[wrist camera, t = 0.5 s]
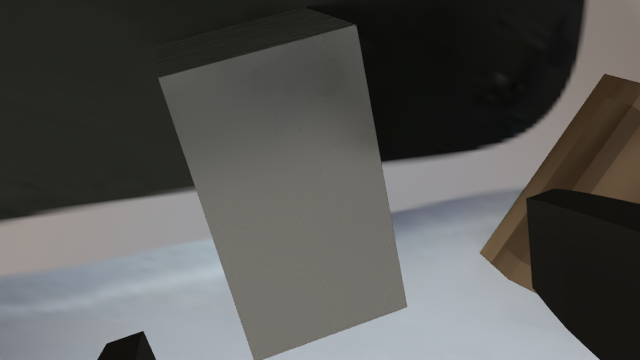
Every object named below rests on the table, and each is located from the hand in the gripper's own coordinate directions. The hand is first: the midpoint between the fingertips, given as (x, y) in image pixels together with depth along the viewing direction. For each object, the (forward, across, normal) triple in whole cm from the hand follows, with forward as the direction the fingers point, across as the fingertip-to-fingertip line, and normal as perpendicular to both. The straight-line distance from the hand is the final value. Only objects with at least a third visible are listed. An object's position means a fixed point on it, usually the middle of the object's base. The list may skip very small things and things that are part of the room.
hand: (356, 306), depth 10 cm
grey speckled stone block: (+9, 0, 0) cm, 9 cm away
